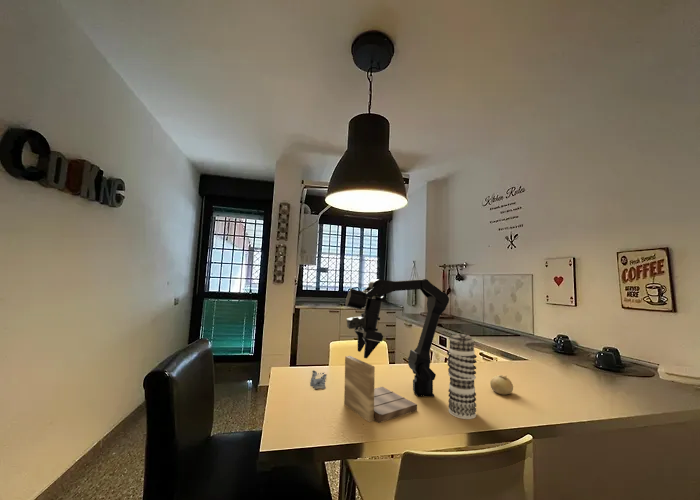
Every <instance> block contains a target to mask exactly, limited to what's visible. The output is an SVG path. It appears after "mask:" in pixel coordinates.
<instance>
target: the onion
mask: <svg viewBox="0 0 700 500" xmlns="http://www.w3.org/2000/svg"><path fill="white" fill-rule="evenodd" d="M490 389H491V390H493V392H494V393H496V394H498V395H505V396H506V395H510V394H511V393H512V392H513V390H514V386H513V383H512V380H510V378H509V377H508V376H507V375H503V374H498V375H495V376H493V377H492V378H491V379H490Z"/></svg>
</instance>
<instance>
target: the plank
mask: <svg viewBox="0 0 700 500" xmlns="http://www.w3.org/2000/svg"><path fill="white" fill-rule="evenodd" d="M375 369H376V367H375V366H374V365H372V364H370V363H367V362H365V361H362V360H360V359H358V358H356V357H353V356H352V355H348V356H345V357H344V396H343V398H344V399H343V402H344V403H343V404H344V406H346V407H347V408H348V409H350V410H351V411H353V412H354V413H355V414H357V415H358V416H359V417H361V418H362V419H364V420H366V422H373V421H375V420H374V389H375V375H376V373H375V372H376V371H375Z"/></svg>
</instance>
